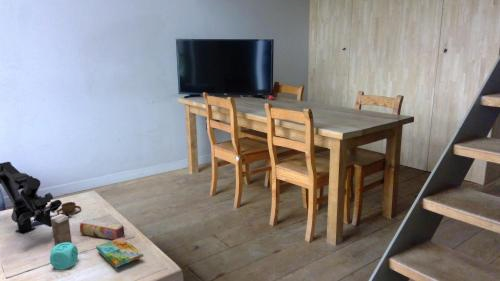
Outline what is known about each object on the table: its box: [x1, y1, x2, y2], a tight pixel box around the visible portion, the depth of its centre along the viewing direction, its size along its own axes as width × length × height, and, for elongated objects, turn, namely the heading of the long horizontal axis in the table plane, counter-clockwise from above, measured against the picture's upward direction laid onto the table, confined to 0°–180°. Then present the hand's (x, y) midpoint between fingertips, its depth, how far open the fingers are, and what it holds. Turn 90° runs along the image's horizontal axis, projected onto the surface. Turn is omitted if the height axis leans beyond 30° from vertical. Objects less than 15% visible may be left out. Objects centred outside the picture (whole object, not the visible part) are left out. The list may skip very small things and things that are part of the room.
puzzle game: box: [95, 236, 144, 268], centre depth 167 cm, size 12×5×20 cm
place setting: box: [51, 201, 82, 219], centre depth 209 cm, size 18×20×6 cm
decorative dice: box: [49, 242, 79, 271], centre depth 162 cm, size 8×8×8 cm
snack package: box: [79, 218, 125, 241], centre depth 186 cm, size 21×7×7 cm, turn 71°
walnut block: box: [51, 213, 73, 246], centre depth 176 cm, size 5×5×14 cm
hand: (51, 226), depth 179 cm, fingers closed
